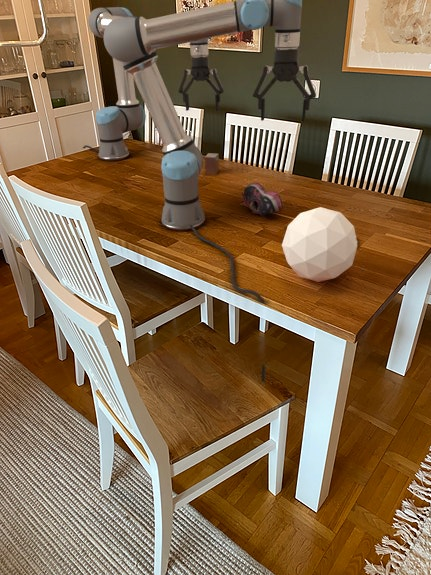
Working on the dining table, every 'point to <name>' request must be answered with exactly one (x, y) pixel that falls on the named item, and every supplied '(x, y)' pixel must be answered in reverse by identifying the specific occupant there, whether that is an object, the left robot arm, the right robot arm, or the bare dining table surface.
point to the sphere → (320, 244)
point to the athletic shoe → (261, 200)
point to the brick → (211, 164)
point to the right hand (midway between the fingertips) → (282, 120)
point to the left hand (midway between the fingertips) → (202, 110)
